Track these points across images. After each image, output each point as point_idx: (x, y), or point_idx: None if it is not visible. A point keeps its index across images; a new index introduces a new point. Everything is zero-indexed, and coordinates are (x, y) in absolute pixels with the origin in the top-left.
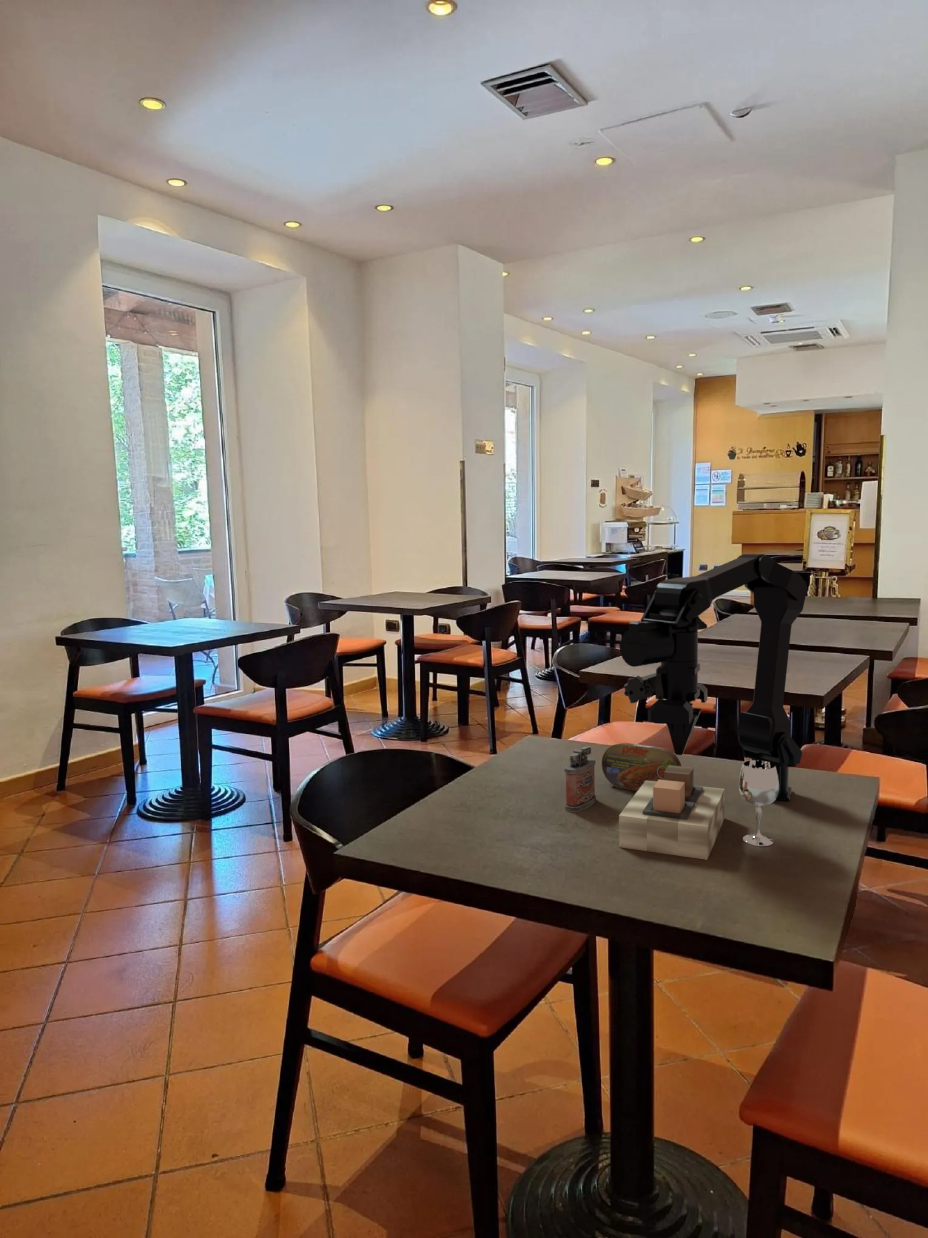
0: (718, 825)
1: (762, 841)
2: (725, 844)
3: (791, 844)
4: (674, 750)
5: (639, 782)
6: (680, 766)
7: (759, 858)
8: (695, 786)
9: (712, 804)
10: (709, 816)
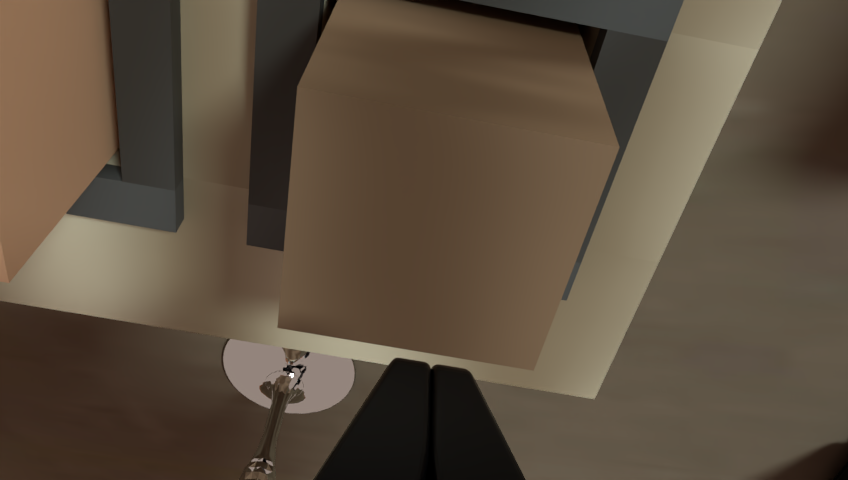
0: None
1: (253, 385)
2: None
3: (289, 455)
4: (369, 394)
5: None
6: (568, 266)
7: (89, 351)
8: None
9: (249, 319)
10: (7, 290)
